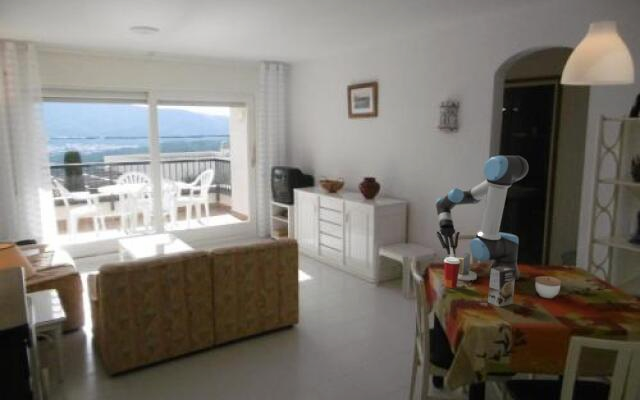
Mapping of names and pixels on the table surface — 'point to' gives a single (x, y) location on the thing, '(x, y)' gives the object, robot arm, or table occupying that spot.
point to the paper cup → (451, 271)
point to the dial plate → (467, 276)
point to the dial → (464, 264)
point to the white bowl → (547, 286)
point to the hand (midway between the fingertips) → (452, 259)
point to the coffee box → (501, 286)
